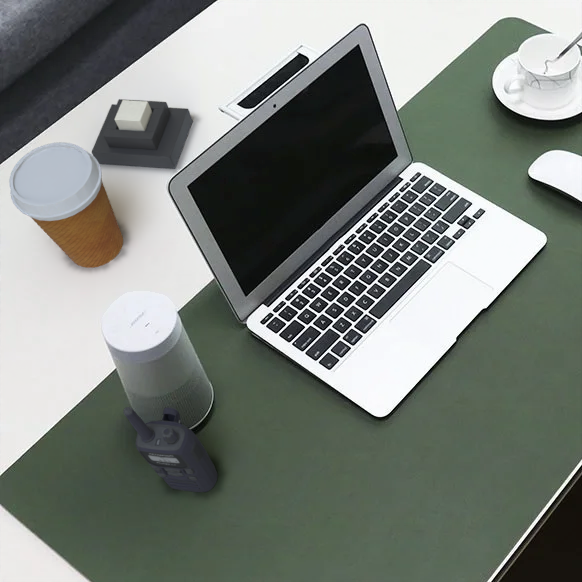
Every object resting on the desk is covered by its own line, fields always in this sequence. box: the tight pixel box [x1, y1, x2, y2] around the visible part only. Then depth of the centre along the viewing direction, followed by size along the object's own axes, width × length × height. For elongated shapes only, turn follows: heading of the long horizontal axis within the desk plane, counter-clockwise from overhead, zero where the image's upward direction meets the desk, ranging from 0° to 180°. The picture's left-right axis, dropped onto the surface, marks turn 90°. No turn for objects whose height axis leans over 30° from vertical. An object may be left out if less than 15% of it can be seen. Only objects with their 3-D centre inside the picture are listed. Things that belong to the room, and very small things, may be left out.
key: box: [115, 99, 152, 131], centre depth 99 cm, size 3×3×2 cm
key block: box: [91, 98, 194, 170], centre depth 101 cm, size 10×8×4 cm
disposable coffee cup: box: [8, 141, 124, 269], centre depth 91 cm, size 10×10×12 cm
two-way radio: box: [122, 406, 219, 493], centre depth 75 cm, size 6×4×15 cm
